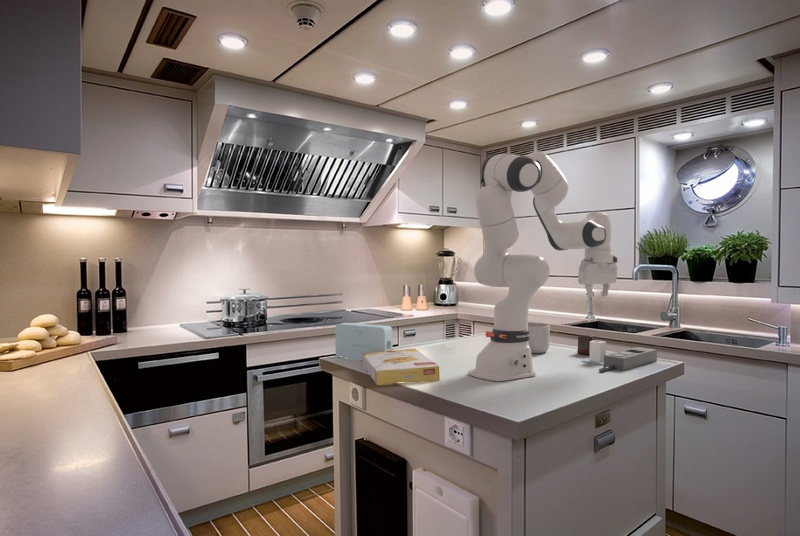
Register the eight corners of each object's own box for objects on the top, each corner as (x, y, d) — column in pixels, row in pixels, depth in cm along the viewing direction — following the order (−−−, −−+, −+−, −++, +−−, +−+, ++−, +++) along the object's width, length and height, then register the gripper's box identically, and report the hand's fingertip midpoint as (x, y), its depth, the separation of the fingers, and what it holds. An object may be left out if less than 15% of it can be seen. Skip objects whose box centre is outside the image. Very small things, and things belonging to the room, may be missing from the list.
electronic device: (601, 357, 183) (600, 337, 183) (576, 354, 190) (576, 335, 190) (606, 355, 186) (605, 336, 186) (581, 352, 193) (581, 333, 193)
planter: (554, 354, 189) (554, 326, 189) (522, 354, 189) (522, 327, 189) (544, 348, 202) (544, 322, 201) (514, 349, 201) (514, 322, 201)
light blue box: (334, 358, 187) (333, 324, 187) (343, 355, 192) (343, 322, 192) (383, 365, 174) (383, 328, 174) (392, 362, 179) (392, 326, 179)
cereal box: (415, 347, 178) (440, 363, 151) (415, 362, 178) (441, 381, 151) (360, 352, 173) (377, 369, 145) (361, 367, 173) (377, 387, 146)
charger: (599, 362, 172) (599, 342, 172) (589, 360, 175) (589, 340, 175) (605, 360, 174) (605, 340, 174) (595, 359, 177) (595, 339, 177)
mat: (602, 365, 169) (602, 364, 169) (581, 361, 175) (581, 360, 175) (614, 362, 174) (614, 361, 174) (593, 358, 180) (593, 357, 180)
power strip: (610, 374, 156) (610, 361, 156) (590, 370, 161) (590, 358, 161) (656, 360, 176) (656, 349, 176) (637, 357, 181) (637, 346, 181)
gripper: (590, 257, 165) (590, 298, 165) (620, 258, 178) (620, 295, 178) (573, 258, 170) (573, 297, 170) (604, 258, 183) (604, 295, 183)
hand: (597, 296), depth 174 cm, fingers open, 8 cm apart
